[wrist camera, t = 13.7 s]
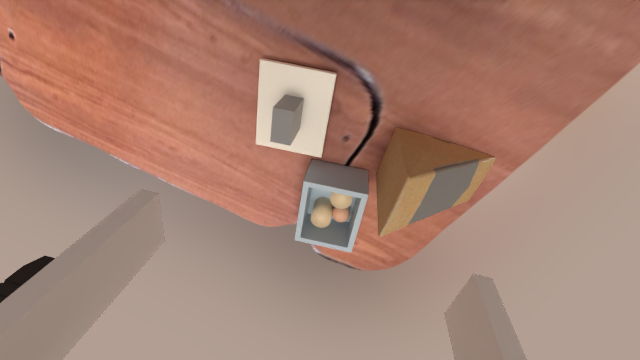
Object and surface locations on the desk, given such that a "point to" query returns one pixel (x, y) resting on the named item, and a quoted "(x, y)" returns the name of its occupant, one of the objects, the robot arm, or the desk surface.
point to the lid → (293, 106)
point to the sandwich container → (424, 178)
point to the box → (332, 205)
